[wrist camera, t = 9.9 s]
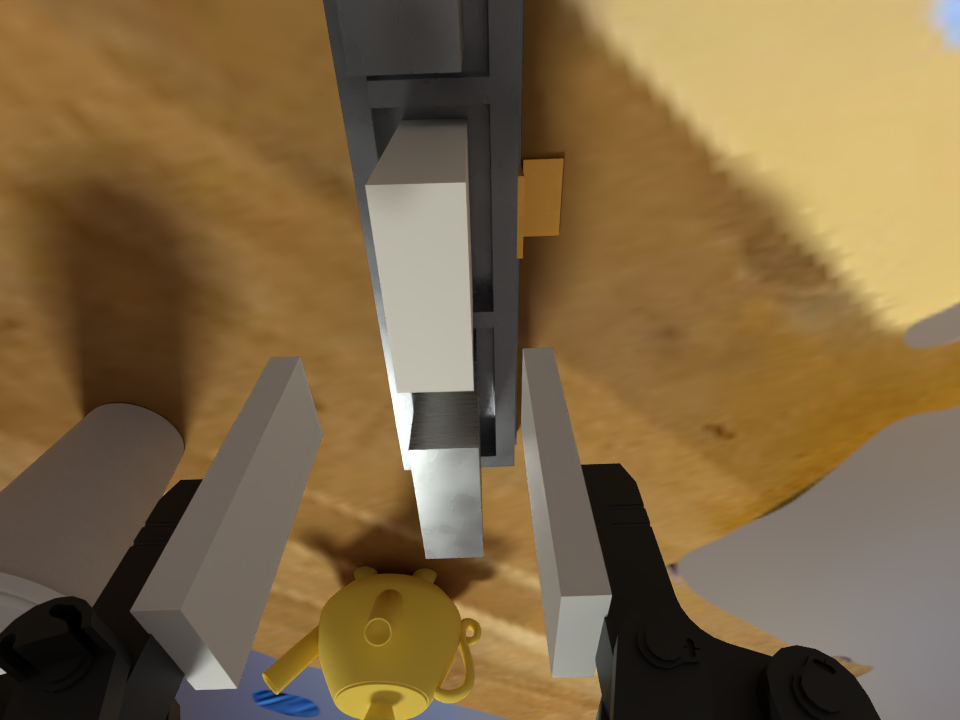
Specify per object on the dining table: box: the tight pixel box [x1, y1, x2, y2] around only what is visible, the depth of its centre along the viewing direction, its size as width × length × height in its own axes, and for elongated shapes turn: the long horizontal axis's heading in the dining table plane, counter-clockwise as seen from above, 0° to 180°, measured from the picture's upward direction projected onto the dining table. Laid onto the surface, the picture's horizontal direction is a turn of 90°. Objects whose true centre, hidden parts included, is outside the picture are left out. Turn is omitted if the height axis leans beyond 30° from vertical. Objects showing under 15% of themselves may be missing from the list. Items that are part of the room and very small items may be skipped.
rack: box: [323, 0, 564, 559], centre depth 22 cm, size 34×10×11 cm, turn 2°
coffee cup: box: [0, 403, 184, 675], centre depth 30 cm, size 10×10×15 cm
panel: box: [365, 118, 474, 393], centre depth 21 cm, size 8×3×10 cm, turn 1°
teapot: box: [262, 566, 481, 720], centre depth 43 cm, size 14×14×11 cm
